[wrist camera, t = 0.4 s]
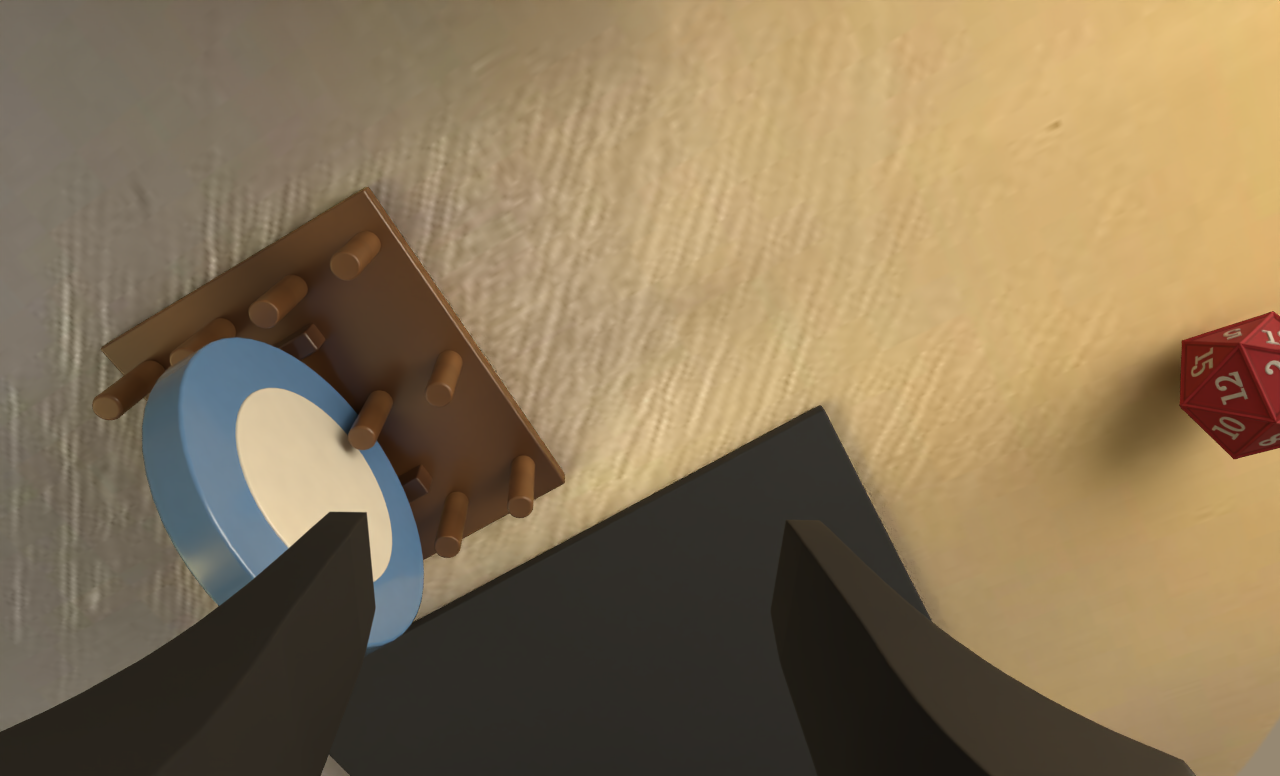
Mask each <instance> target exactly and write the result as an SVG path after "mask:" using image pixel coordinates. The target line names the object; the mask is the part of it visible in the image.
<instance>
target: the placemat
mask: <svg viewBox="0 0 1280 776" xmlns="http://www.w3.org/2000/svg"><path fill="white" fill-rule="evenodd" d="M786 520H820V521H821V522H822V523H823V524H824V525H826V526H827V527H828V528H829V529H830V530H831V531H832V532H833V533H834V534H835V535H836V536H837V537H838V538H839V539H840V540H841V541H842V542H843V543H844V544H845V545H846V546H847V547H848V548H850V549H851V550H852V551H853V552H854V553H855V554H856V555H857V556H858V557H859V558H860V559H861V560H862V561H863V562H864V563H865V564H866V565H867V566H868V567H869V568H870V569H871V570H873V571H874V572H875V573H876V574H877V575H878V576H879V577H880V578H881V579H882V580H883V581H884V582H886V583H887V584H888V585H889V586H890V587H891V588H892V589H893V590H894V591H896V592H897V593H898V594H899V595H900V596H901V597H902V598H904V599H905V600H906V601H907V602H908V603H909V604H911V605H912V606H913V607H914V608H915V609H917V610H918V611H919V612H920V613H922V614H923V615H924V616H925V617H926V618H928V619H929V620H930V621H931V619H930V617H929V615H928V613H927V611H926V609H925V607H924V605H923V603H922V601H921V599H920V597H919V595H918V593H917V591H916V589H915V587H914V585H913V583H912V581H911V579H910V577H909V575H908V574H907V572H906V570H905V568H904V566H903V564H902V562H901V560H900V558H899V556H898V554H897V552H896V550H895V548H894V546H893V544H892V542H891V540H890V538H889V536H888V534H887V532H886V530H885V528H884V526H883V524H882V522H881V520H880V518H879V516H878V515H877V513H876V511H875V509H874V507H873V505H872V503H871V501H870V499H869V497H868V495H867V493H866V491H865V489H864V487H863V485H862V483H861V481H860V479H859V477H858V475H857V473H856V471H855V469H854V467H853V465H852V463H851V461H850V459H849V457H848V456H847V454H846V452H845V450H844V448H843V446H842V444H841V442H840V440H839V438H838V436H837V434H836V432H835V430H834V428H833V426H832V424H831V422H830V420H829V418H828V416H827V414H826V412H825V410H824V409H823V408H822V406H821V405H819V406H817V407H815V408H814V409H812V410H810V411H808V412H806V413H804V414H802V415H801V416H799V417H797V418H795V419H793V420H791V421H789V422H787V423H786V424H784V425H782V426H780V427H778V428H776V429H774V430H773V431H771V432H769V433H767V434H765V435H763V436H761V437H759V438H758V439H756V440H754V441H752V442H750V443H748V444H746V445H745V446H743V447H741V448H739V449H737V450H735V451H733V452H731V453H730V454H728V455H726V456H724V457H722V458H720V459H718V460H717V461H715V462H713V463H711V464H709V465H707V466H705V467H703V468H702V469H700V470H698V471H696V472H694V473H692V474H690V475H689V476H687V477H685V478H683V479H681V480H679V481H677V482H676V483H674V484H672V485H670V486H668V487H666V488H664V489H662V490H661V491H659V492H657V493H655V494H653V495H651V496H649V497H648V498H646V499H644V500H642V501H640V502H638V503H636V504H634V505H633V506H631V507H629V508H627V509H625V510H623V511H621V512H620V513H618V514H616V515H614V516H612V517H610V518H608V519H606V520H605V521H603V522H601V523H599V524H597V525H595V526H593V527H592V528H590V529H588V530H586V531H584V532H582V533H580V534H578V535H577V536H575V537H573V538H571V539H569V540H567V541H565V542H564V543H562V544H560V545H558V546H556V547H554V548H552V549H551V550H549V551H547V552H545V553H543V554H541V555H539V556H537V557H536V558H534V559H532V560H530V561H528V562H526V563H524V564H523V565H521V566H519V567H517V568H515V569H513V570H511V571H509V572H508V573H506V574H504V575H502V576H500V577H498V578H496V579H495V580H493V581H491V582H489V583H487V584H485V585H483V586H481V587H480V588H478V589H476V590H474V591H472V592H470V593H468V594H467V595H465V596H463V597H461V598H459V599H457V600H455V601H453V602H452V603H450V604H448V605H446V606H444V607H442V608H440V609H439V610H437V611H435V612H433V613H431V614H429V615H427V616H426V617H424V618H422V619H420V620H418V621H416V622H414V623H412V624H411V625H410V627H409V628H408V629H407V630H406V631H405V632H404V634H403V635H402V636H400V637H399V638H397V639H396V640H394V641H393V642H391V643H390V644H388V645H386V646H384V647H382V648H380V649H379V650H377V651H375V652H373V653H371V654H369V655H368V656H366V657H364V661H363V664H362V667H361V670H360V672H359V675H358V678H357V680H356V683H355V686H354V689H353V691H352V694H351V697H350V699H349V702H348V705H347V707H346V710H345V713H344V715H343V718H342V720H341V723H340V726H339V728H338V731H337V734H336V736H335V739H334V742H333V744H332V747H331V749H330V752H329V755H330V756H331V757H332V758H333V759H334V760H335V761H336V762H337V763H338V764H339V765H340V766H341V767H342V768H343V769H344V770H345V771H346V772H347V773H348V774H349V775H350V776H817V773H816V770H815V767H814V764H813V761H812V758H811V755H810V752H809V749H808V746H807V743H806V740H805V737H804V734H803V731H802V728H801V725H800V722H799V719H798V716H797V713H796V710H795V707H794V704H793V701H792V698H791V695H790V692H789V689H788V686H787V683H786V680H785V677H784V674H783V670H782V667H781V664H780V660H779V655H778V650H777V645H776V640H775V635H774V629H773V623H772V618H771V612H770V610H771V605H772V599H773V593H774V587H775V581H776V575H777V569H778V563H779V557H780V552H781V546H782V540H783V534H784V528H785V522H786ZM931 622H932V621H931Z"/></svg>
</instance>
